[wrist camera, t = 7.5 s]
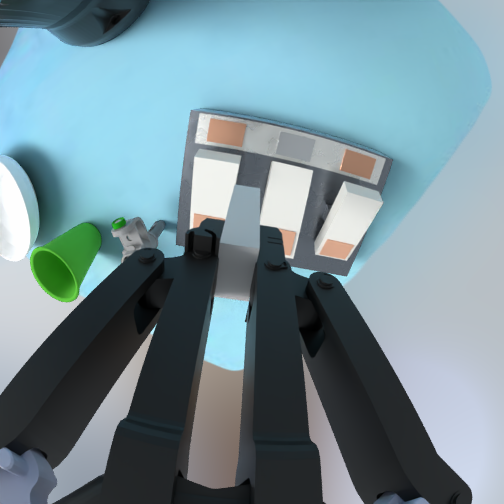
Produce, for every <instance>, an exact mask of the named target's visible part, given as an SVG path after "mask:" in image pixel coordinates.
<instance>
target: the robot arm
mask: <svg viewBox="0 0 504 504" xmlns="http://www.w3.org/2000/svg"><path fill="white" fill-rule="evenodd" d="M149 1H150V0H0V27H27V28H42V29H47V30H48V31H49V32H51V33H52V34H53V35H55V36H56V37H57V38H59V39H60V40H61V41H62V42H64V43H66V44H69V45H73V46H81V47H91V46H96V45H99V44H102V43H105V42H107V41H109V40H111V39H113V38H114V37H116V36H118V35H119V34H120V33H122V32H123V31H124V30H126V29H127V28H128V27H129V26H130V25H131V24H132V23H133V22H134V21H135V20H136V19H137V18H138V17H139V16H140V15H141V13H142V12H143V11H144V9H145V8H146V6H147V4H148V3H149ZM214 297H221V298H228V299H235V300H242V301H249V305H248V310H247V315H246V319H245V322H247V327H246V343H245V360H244V376H243V393H242V409H241V427H240V443H239V458H238V466H237V471H236V480H235V487H228V488H221V489H211V488H208V487H205V486H202V485H200V484H197V483H194V482H192V481H189V480H187V473H188V462H189V461H188V460H189V450H190V442H191V436H192V429H193V422H194V415H195V408H196V402H197V395H198V390H199V383H200V377H201V371H202V365H203V360H204V354H205V348H206V342H207V337H208V331H209V326H210V320H211V315H212V309H213V303H214ZM249 297H250V300H249ZM156 324H157V325H156ZM155 325H156V328H155V331H154V334H153V337H152V340H151V343H150V346H149V349H148V352H147V354H146V357H145V361H144V364H143V367H142V370H141V373H140V376H139V379H138V383H137V386H136V389H135V393H134V396H133V400H132V403H131V406H130V410H129V413H128V415H127V417H126V418H124V419H123V420H121V421H120V423H119V424H118V426H117V429H116V431H115V434H114V438H113V441H112V445H111V449H110V454H109V457H108V461H107V466H106V470H105V474H103V475H101V476H98V477H97V478H95V479H93V480H92V481H90V482H88V483H87V484H85V485H84V486H82V487H81V488H79V489H77V490H75V491H74V492H72V493H71V494H69V495H67V496H65V497H64V498H62V499H60V500H58V501H56V502H55V503H53V504H326V503H324V502H323V497H322V479H321V466H320V456H319V450H318V448H317V445H316V444H315V443H313V442H312V441H311V439H310V436H309V426H308V414H307V402H306V392H305V381H304V371H303V361H302V354H303V357H304V359H305V362H306V364H307V367H308V369H309V372H310V375H311V377H312V380H313V382H314V385H315V387H316V390H317V392H318V395H319V397H320V400H321V402H322V405H323V408H324V410H325V412H326V415H327V418H328V420H329V423H330V425H331V428H332V431H333V433H334V436H335V438H336V441H337V444H338V446H339V449H340V451H341V454H342V457H343V459H344V462H345V464H346V467H347V470H348V472H349V475H350V477H351V480H352V482H353V485H354V486H355V489H356V491H357V493H358V495H359V496H360V498H361V499H362V501H363V502H364V504H471V503H472V492H471V489H470V488H469V487H468V485H467V484H466V483H465V482H464V481H463V480H462V479H461V478H460V477H459V476H458V475H457V474H456V473H455V472H454V471H453V470H452V469H451V468H450V467H449V466H448V465H447V463H446V462H445V461H443V459H442V458H440V456H439V455H438V454H437V452H436V450H435V448H434V446H433V444H432V442H431V440H430V438H429V436H428V434H427V432H426V430H425V427H424V426H423V424H422V422H421V420H420V418H419V416H418V414H417V412H416V410H415V408H414V406H413V404H412V402H411V400H410V399H409V397H408V395H407V393H406V391H405V389H404V388H403V386H402V384H401V382H400V380H399V379H398V377H397V375H396V373H395V372H394V370H393V368H392V366H391V365H390V363H389V361H388V359H387V358H386V356H385V354H384V352H383V351H382V349H381V347H380V346H379V344H378V342H377V341H376V339H375V337H374V336H373V334H372V332H371V331H370V329H369V327H368V326H367V324H366V323H365V321H364V319H363V318H362V316H361V314H360V313H359V311H358V310H357V308H356V307H355V305H354V303H353V302H352V300H351V299H350V297H349V296H348V294H347V292H346V291H345V289H344V288H343V286H342V285H341V283H340V282H339V281H338V279H337V278H335V277H334V276H332V275H331V274H328V273H325V272H315V273H313V274H311V275H310V277H309V278H306V277H303V276H300V275H298V274H296V273H294V272H293V271H291V266H290V264H289V263H288V262H287V261H286V260H285V252H284V245H283V237H282V233H281V232H280V230H279V229H278V228H276V227H270V226H264V225H260V188H254V187H248V186H242V185H234V189H233V193H232V196H231V200H230V204H229V208H228V212H227V216H226V220H219V219H212V218H206V219H205V220H203V221H202V222H201V223H200V226H199V227H196V228H192V229H190V230H188V231H187V232H186V233H185V252H184V255H182V256H179V257H173V258H164V254H163V253H162V252H161V251H160V250H158V249H155V248H142V249H139V250H137V251H135V252H134V253H133V254H131V255H130V256H129V257H128V258H127V259H126V260H125V261H124V262H123V263H121V264H120V265H119V266H118V267H117V268H116V269H115V270H114V271H113V272H112V273H111V274H110V275H109V276H108V277H107V278H105V279H104V280H103V281H102V282H101V283H100V284H99V285H98V286H97V287H96V288H95V289H94V290H93V291H92V292H91V293H90V294H89V295H88V296H87V297H86V298H85V299H84V300H83V301H82V302H81V303H80V304H79V305H78V306H77V307H76V308H75V309H74V310H73V311H72V312H71V313H70V314H69V315H68V316H67V318H66V319H65V320H64V321H63V322H62V323H61V324H60V325H59V326H58V327H57V328H56V329H55V330H54V331H53V332H52V334H51V335H50V336H49V337H48V338H47V339H46V340H45V341H44V342H43V344H42V345H41V346H40V347H39V348H38V349H37V351H36V352H35V353H34V354H33V355H32V356H31V357H30V359H29V360H28V361H27V362H26V363H25V365H24V366H23V367H22V368H21V369H20V371H19V372H18V373H17V374H16V376H15V377H14V378H13V379H12V381H11V382H10V383H9V385H8V386H7V387H6V389H5V390H4V391H3V392H2V394H1V395H0V504H47V499H48V495H49V494H50V492H51V491H52V490H53V488H55V487H56V485H57V479H56V477H55V475H54V472H53V469H54V468H55V467H57V466H58V465H59V464H60V463H61V462H62V461H63V460H64V459H65V458H66V457H67V455H68V454H69V453H70V451H71V450H72V448H73V447H74V446H75V444H76V442H77V441H78V439H79V438H80V436H81V434H82V433H83V431H84V430H85V428H86V427H87V425H88V423H89V422H90V420H91V419H92V417H93V416H94V414H95V413H96V411H97V409H98V408H99V407H100V405H101V403H102V402H103V400H104V399H105V397H106V396H107V394H108V393H109V391H110V390H111V388H112V387H113V385H114V384H115V383H116V381H117V380H118V378H119V377H120V375H121V374H122V372H123V371H124V369H125V368H126V366H127V365H128V364H129V362H130V360H131V359H132V358H133V356H134V355H135V353H136V352H137V351H138V349H139V348H140V346H141V345H142V343H143V342H144V341H145V339H146V338H147V336H148V335H149V334H150V332H151V331H152V329H153V328H154V327H155Z"/></svg>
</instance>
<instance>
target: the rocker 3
mask: <svg viewBox="0 0 504 504" xmlns="http://www.w3.org/2000/svg"><path fill="white" fill-rule="evenodd" d="M382 204H383V200H382V198H381V196H380V193H379V191H375V190H372V189H369V188H366V187H363V186H359V185H356V184H353V183H349V182H346V181H344V182H343V184H342V186H341V189H340V191H339V193H338V195H337V197H336V199H335V201H334V203H333V206H332V208H331V210H330V212H329V214H328V216H327V218H326V220H325V222H324V224H323V226H322V228H321V230H320V232H319V234H318V236H317V238H316V240H315V242H314V246H315V255H321V256H326V257H331V258H336V259H341V260H346V261H347V260H348V258H349V257H350V255H351V254H352V252H353V251H354V249H355V248H356V246H357V245H358V243H359V241H360V240H361V238H362V237H363V235H364V234H365V232H366V230H367V229H368V227H369V226H370V224H371V222H372V221H373V219H374V218H375V216H376V214H377V213H378V211H379V209H380V208H381V206H382Z"/></svg>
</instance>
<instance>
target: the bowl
mask: <svg viewBox="0 0 504 504" xmlns="http://www.w3.org/2000/svg"><path fill="white" fill-rule="evenodd" d="M38 231H39V208H38V201H37V197H36V193H35V190H34V187H33V185H32V183H31V181H30V178H29V177H28V175H27V174H26V172H25V171H24V170H23V168H22V167H21V166H20V165H19V164H18V163H17V162H16V161H15V160H14V159H12V158H11V157H8V156H5V155H0V256H2V257H3V258H5V259H8V260H10V261H19V260H22V259H23V258H24V257H25V256H26V255H27V254H28V253H29V251H30V250H31V248H32V247H33V245H34V243H35V240H36V238H37V235H38Z"/></svg>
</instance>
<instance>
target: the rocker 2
mask: <svg viewBox="0 0 504 504" xmlns="http://www.w3.org/2000/svg"><path fill="white" fill-rule="evenodd" d="M312 174H313V170H309V169H305V168H301V167H297V166H293V165H288V164H284V163H280V162H275V161H272V162H271V166H270V170H269V175H268V180H267V185H266V190H265V195H264V199H263V204H262V209H261V214H260V225H264V226H270V227H276V228H278V229H279V230H280V232H281V233H282V237H283V245H284V252H285V257H286V258H291V259H293V258H294V253H295V249H296V245H297V241H298V237H299V233H300V228H301V224H302V220H303V215H304V211H305V207H306V202H307V198H308V193H309V188H310V184H311V179H312Z"/></svg>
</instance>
